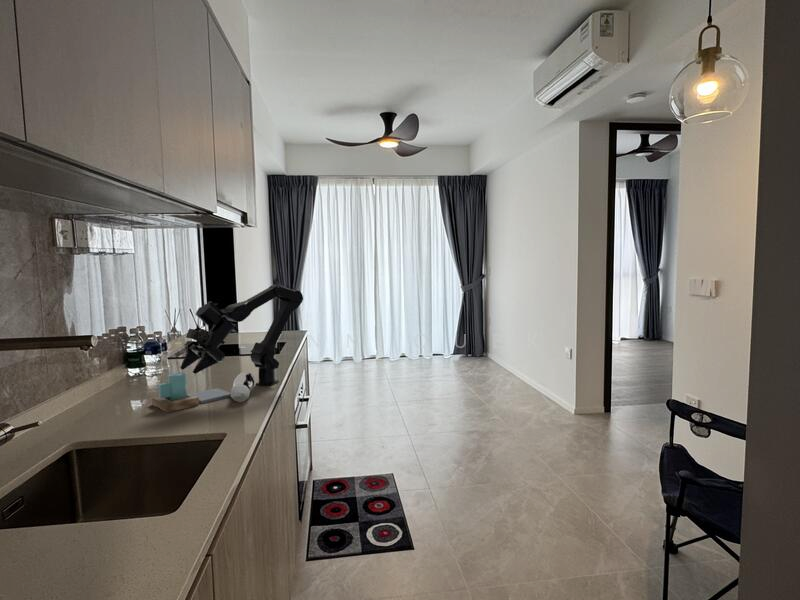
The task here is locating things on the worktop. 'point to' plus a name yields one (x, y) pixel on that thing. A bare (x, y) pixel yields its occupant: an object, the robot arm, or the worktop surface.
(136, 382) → the worktop surface
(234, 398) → the beer glass
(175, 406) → the bracket
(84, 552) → the worktop surface
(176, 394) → the teal gourd with tab
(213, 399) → the coaster
